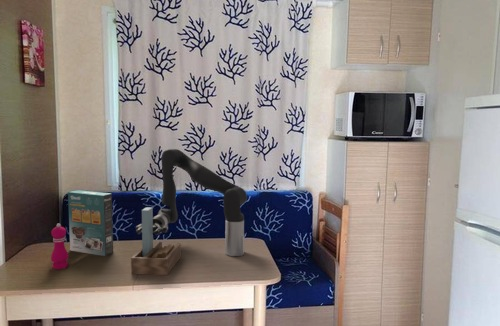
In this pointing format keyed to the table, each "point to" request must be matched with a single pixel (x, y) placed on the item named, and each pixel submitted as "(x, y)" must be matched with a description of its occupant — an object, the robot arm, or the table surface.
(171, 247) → the offcuts
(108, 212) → the cake mix box
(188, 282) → the table surface
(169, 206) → the robot arm
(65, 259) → the pepper mill
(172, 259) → the rack
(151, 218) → the panel
